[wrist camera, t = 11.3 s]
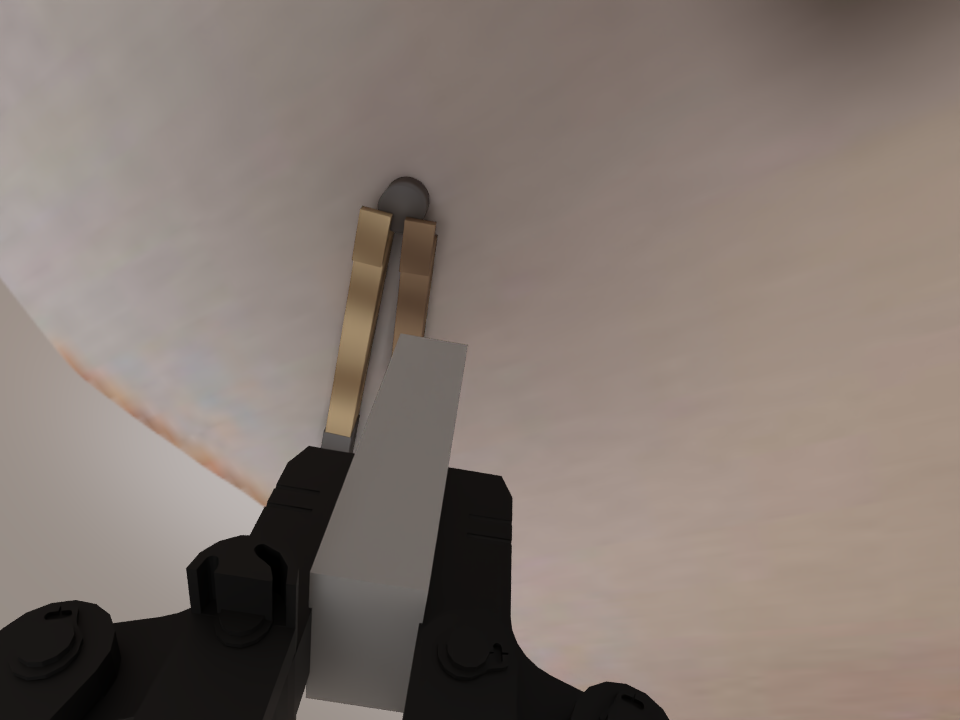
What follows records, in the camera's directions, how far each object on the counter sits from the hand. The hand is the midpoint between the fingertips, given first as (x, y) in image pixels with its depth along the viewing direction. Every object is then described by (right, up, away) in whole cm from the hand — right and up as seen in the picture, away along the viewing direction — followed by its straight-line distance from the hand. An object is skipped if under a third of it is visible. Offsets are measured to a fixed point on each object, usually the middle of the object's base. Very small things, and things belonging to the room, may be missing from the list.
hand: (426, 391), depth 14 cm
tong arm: (-7, +2, +29) cm, 30 cm away
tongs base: (-5, +2, +29) cm, 30 cm away
